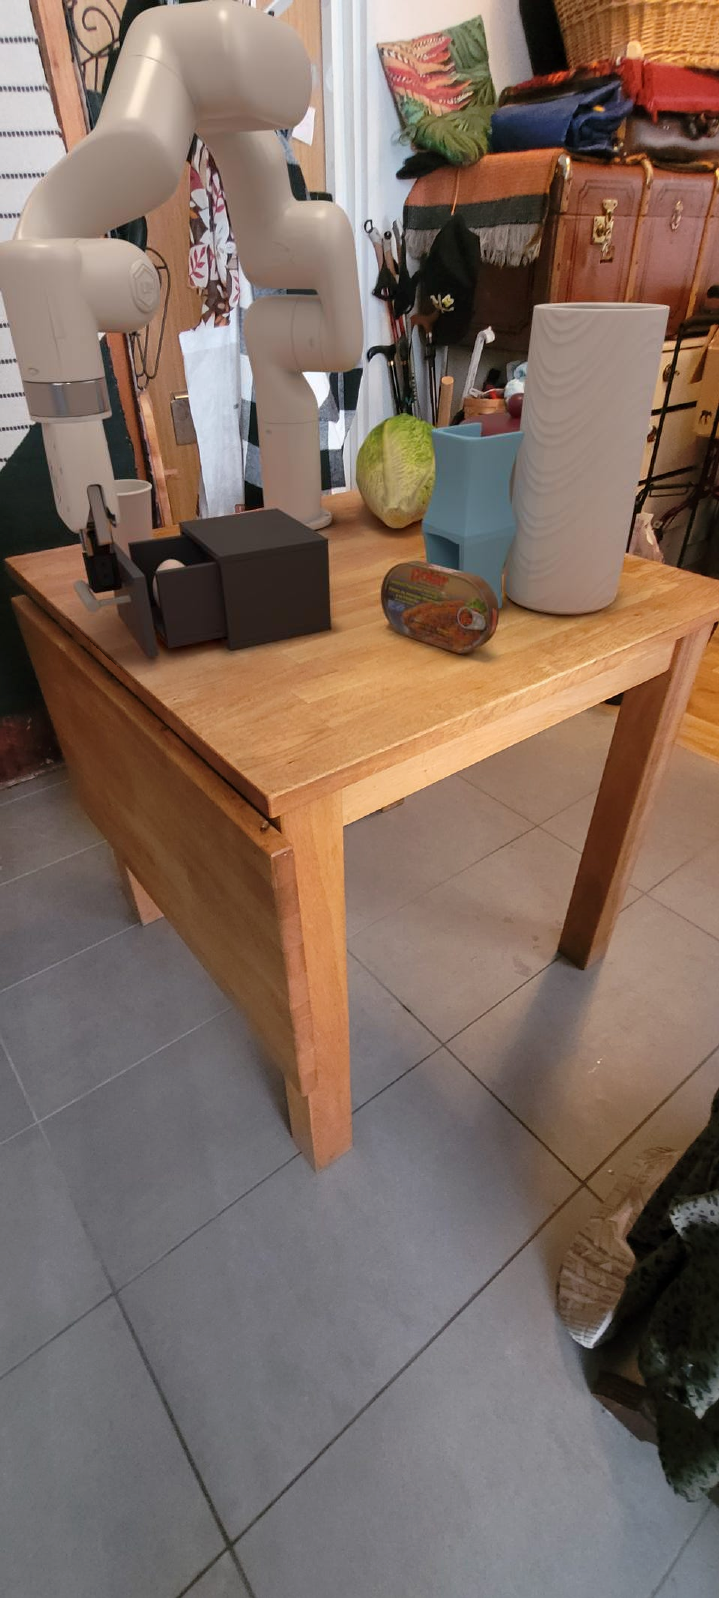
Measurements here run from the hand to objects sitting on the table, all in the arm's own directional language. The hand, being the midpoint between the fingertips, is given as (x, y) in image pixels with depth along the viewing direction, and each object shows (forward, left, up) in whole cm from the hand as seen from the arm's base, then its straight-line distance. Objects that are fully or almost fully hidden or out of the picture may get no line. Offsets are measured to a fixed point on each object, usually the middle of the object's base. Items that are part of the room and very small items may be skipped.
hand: (106, 588), depth 83 cm
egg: (0, +7, -5) cm, 9 cm away
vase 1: (+8, +42, -7) cm, 43 cm away
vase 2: (+12, +54, -7) cm, 55 cm away
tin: (+16, +33, -7) cm, 37 cm away
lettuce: (-30, +55, -7) cm, 63 cm away
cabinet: (0, +17, -7) cm, 18 cm away
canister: (-6, +59, -7) cm, 59 cm away
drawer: (0, +5, -6) cm, 8 cm away
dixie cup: (-31, +10, -7) cm, 33 cm away
